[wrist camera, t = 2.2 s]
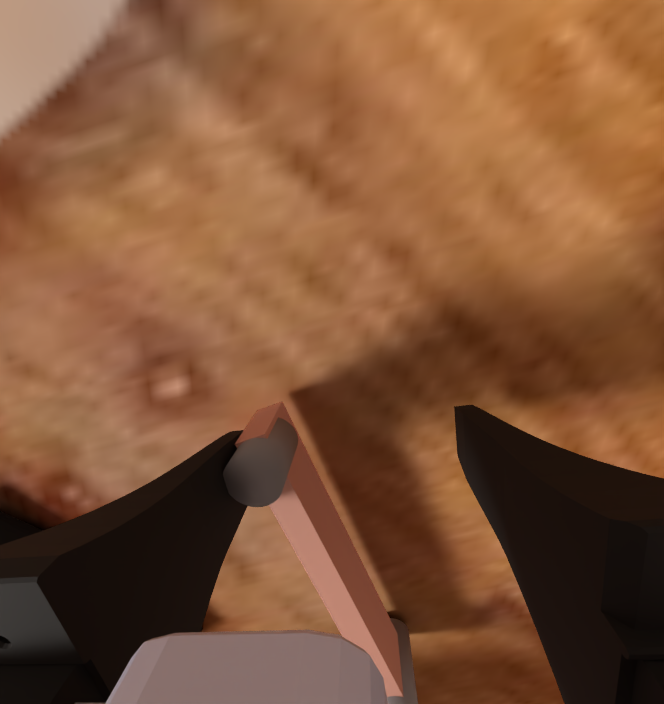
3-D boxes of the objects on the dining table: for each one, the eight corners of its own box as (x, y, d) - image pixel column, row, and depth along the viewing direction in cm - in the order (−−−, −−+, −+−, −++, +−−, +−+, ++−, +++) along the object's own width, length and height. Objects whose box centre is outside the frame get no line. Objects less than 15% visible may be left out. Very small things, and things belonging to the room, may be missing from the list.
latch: (413, 639, 17) (429, 753, 13) (379, 645, 18) (385, 757, 14) (294, 391, 14) (266, 447, 10) (254, 405, 14) (211, 465, 10)
